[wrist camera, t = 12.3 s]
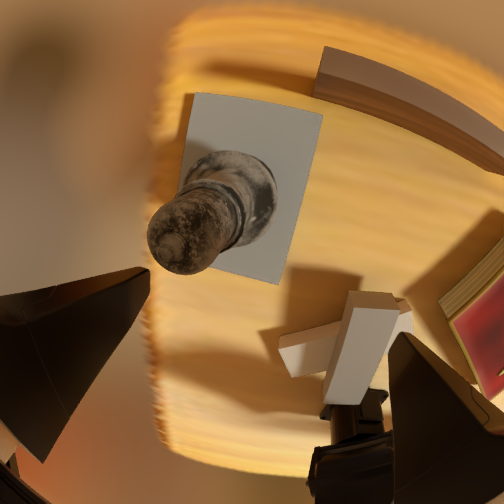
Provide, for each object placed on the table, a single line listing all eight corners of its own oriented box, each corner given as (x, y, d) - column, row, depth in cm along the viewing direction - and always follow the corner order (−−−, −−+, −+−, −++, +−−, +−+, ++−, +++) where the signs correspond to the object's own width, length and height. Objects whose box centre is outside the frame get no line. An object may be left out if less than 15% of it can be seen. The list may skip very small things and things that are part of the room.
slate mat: (279, 279, 22) (278, 285, 21) (175, 251, 23) (170, 256, 22) (321, 116, 17) (323, 115, 16) (199, 94, 18) (195, 92, 17)
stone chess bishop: (184, 180, 19) (65, 232, 8) (249, 132, 17) (174, 116, 6) (230, 244, 21) (160, 354, 10) (297, 203, 19) (296, 292, 8)
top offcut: (391, 293, 19) (400, 310, 17) (356, 386, 23) (359, 404, 21) (349, 289, 20) (353, 307, 17) (322, 385, 24) (322, 403, 22)
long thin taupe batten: (486, 170, 15) (539, 187, 9) (311, 97, 17) (319, 72, 10) (489, 155, 15) (543, 166, 8) (315, 78, 16) (324, 45, 10)
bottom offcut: (407, 328, 23) (414, 343, 21) (292, 361, 26) (291, 378, 24) (403, 296, 22) (412, 310, 19) (280, 332, 25) (278, 349, 23)
